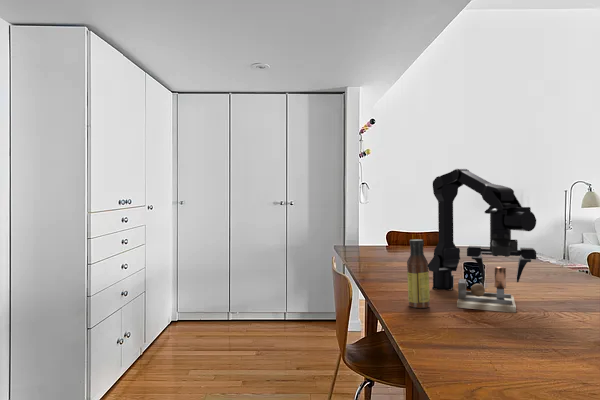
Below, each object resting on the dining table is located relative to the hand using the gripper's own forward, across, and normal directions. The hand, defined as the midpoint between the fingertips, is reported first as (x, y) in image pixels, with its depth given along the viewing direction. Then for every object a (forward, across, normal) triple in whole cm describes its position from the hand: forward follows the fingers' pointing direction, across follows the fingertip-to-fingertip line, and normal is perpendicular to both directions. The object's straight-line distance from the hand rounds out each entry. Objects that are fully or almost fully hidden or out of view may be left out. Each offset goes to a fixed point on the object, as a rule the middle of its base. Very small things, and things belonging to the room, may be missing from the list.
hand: (500, 281), depth 134 cm
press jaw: (+5, 0, 0) cm, 5 cm away
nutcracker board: (+7, -4, 0) cm, 8 cm away
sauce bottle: (+7, -22, -11) cm, 26 cm away
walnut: (+5, -6, 0) cm, 8 cm away
